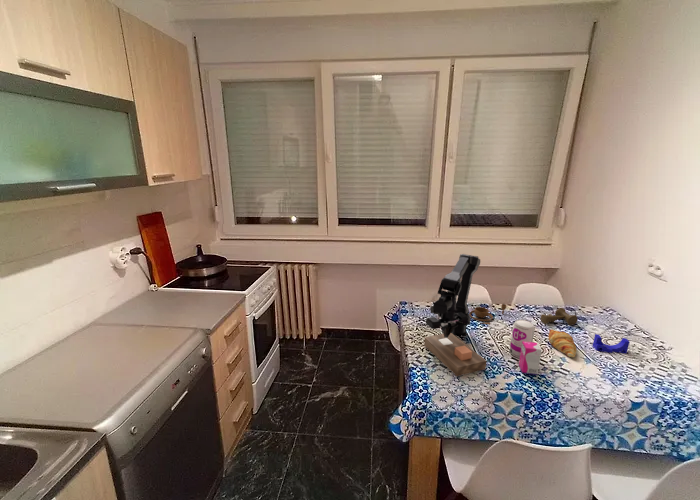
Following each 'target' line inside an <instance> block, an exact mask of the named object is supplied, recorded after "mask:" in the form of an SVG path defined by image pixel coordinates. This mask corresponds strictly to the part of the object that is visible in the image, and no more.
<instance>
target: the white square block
mask: <svg viewBox="0 0 700 500" xmlns="http://www.w3.org/2000/svg"><path fill="white" fill-rule="evenodd" d="M438 341H439V342H441V343H442V344H443V345H449V344H453V343H452V342H451V341H450V340H449V339H448V338H444V339H439V340H438Z"/></svg>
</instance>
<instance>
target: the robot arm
mask: <svg viewBox="0 0 700 500" xmlns="http://www.w3.org/2000/svg"><path fill="white" fill-rule="evenodd" d="M480 265H481V259H480V257H479V256H477V255H472V254H466V253H461V254H460V255H459V258H458V260H457V262H456V264H455V265H454V267H453V269H452V270H451V272H450V273H447V274H445V276H444V277H443V278H442V279H441V280H440V284H439V287H438V290H437V295H440V297H438V299H437V300H436V301H434V303H433V305H430V307H429V308H430V309H429V310H430V311H429V312H430V313H431V314H433V315H437V317H438V318H437V317H436V316H431V317H427V318H426V319H425V325H427V326H428V327H429V328H431V329H432V330H435V329H440V328H441V331H442V334H444V337H445V338H448V336H449V335H450V333H452V334H453V335H455V336H456V337H457V338H459V337H464V336H468V335H469V333H467V327H468V326H470V325H471V319H472V318H471V317H470V315H469V312H470V310H469V309H470V308H469V307H468V299H469V295H470V290H471V289H470V288H471V286H472V280H473V275H474V274H475V272H478V270H479V269H478V268H479V267H480Z"/></svg>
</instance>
